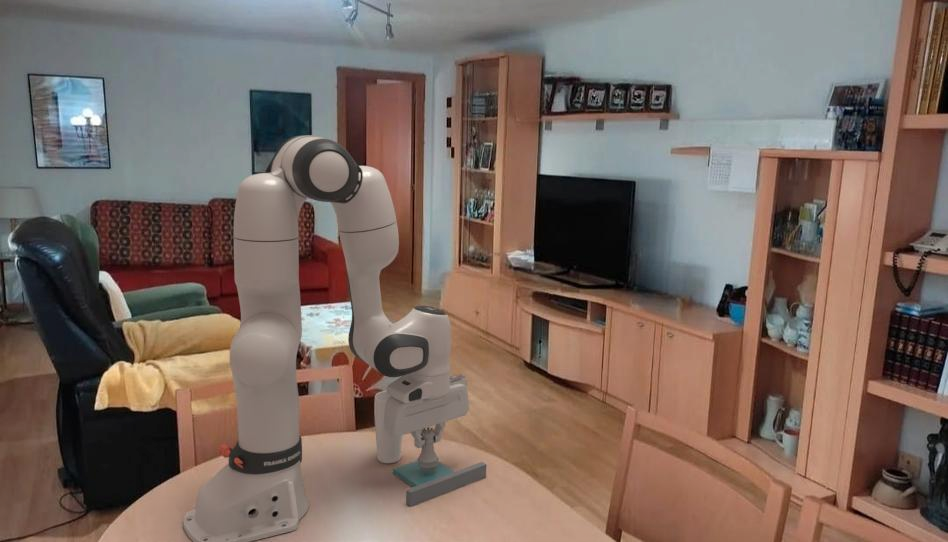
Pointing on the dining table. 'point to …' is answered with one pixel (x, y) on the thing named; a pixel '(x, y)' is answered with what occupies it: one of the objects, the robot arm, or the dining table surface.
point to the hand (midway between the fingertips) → (427, 444)
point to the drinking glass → (385, 433)
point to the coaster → (420, 473)
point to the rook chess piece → (428, 450)
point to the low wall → (445, 484)
